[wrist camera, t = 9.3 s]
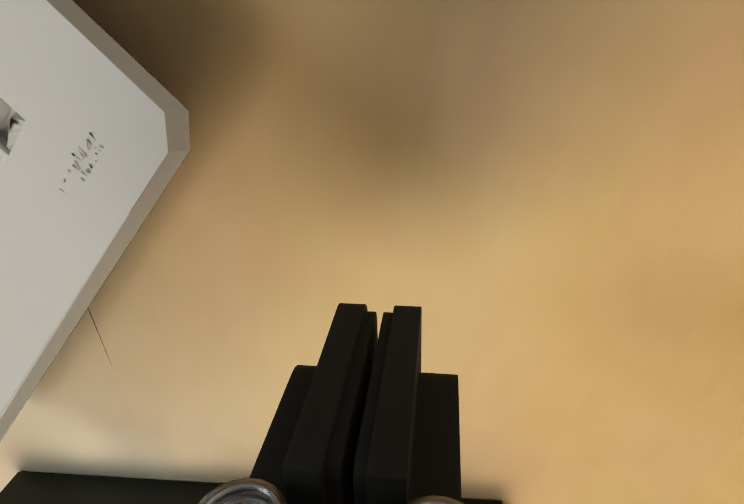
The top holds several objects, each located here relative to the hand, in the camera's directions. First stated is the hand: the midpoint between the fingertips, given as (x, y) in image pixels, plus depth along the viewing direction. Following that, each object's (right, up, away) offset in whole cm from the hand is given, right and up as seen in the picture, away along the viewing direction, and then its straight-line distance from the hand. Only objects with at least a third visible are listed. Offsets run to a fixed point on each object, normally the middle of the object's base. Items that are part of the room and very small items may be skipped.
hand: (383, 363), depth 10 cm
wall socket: (-13, +4, +6) cm, 15 cm away
